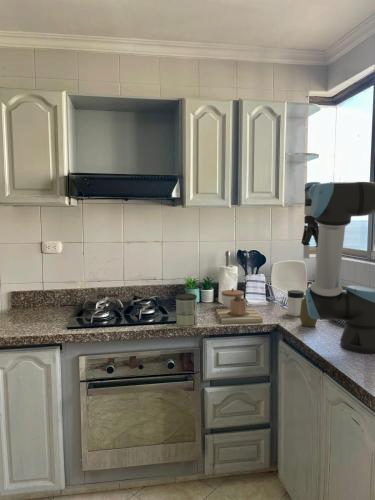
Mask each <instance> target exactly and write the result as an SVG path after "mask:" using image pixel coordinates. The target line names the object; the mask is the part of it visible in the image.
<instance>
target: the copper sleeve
mask: <svg viewBox="0 0 375 500" xmlns="http://www.w3.org/2000/svg"><path fill="white" fill-rule="evenodd" d="M246 309H247V299H245V298H244V299H243V298H241V301H235V298H234V299H230V313H231V314H232V315H246V314H247V310H246Z"/></svg>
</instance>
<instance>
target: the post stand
mask: <svg viewBox="0 0 375 500" xmlns="http://www.w3.org/2000/svg"><path fill="white" fill-rule="evenodd" d="M235 301H241V296H235ZM246 310H247V314H246V315H232V314H231V313H230V309H228V308H224V309H223V308H222V309H221V308H220V309H216V310H215V313H216V316H217V318H218V319H219V321H220V323H221V325H226V324H227V325H228V324H255V323H256V324H257V323H264V321H263V320H264V319H263V317H262V316H261V315H260V314H259V313H258V312H257V311H256V310H255V309H254V308H246Z"/></svg>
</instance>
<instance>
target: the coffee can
mask: <svg viewBox="0 0 375 500" xmlns="http://www.w3.org/2000/svg"><path fill="white" fill-rule="evenodd" d="M197 297H198V295H197V294H193V293H181V294H180V293H179V294H177V295H175V297H174V298H175V318H176V319H175V322H176V323H175V325H176V324H177V325H178V326H177V325H176V326H177V327H179V326H180V328H192V327H193V328H194V327H196V326H197V325H198V312H197V311H198V307H197V305H198V304H197V302H198V300H197Z"/></svg>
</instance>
